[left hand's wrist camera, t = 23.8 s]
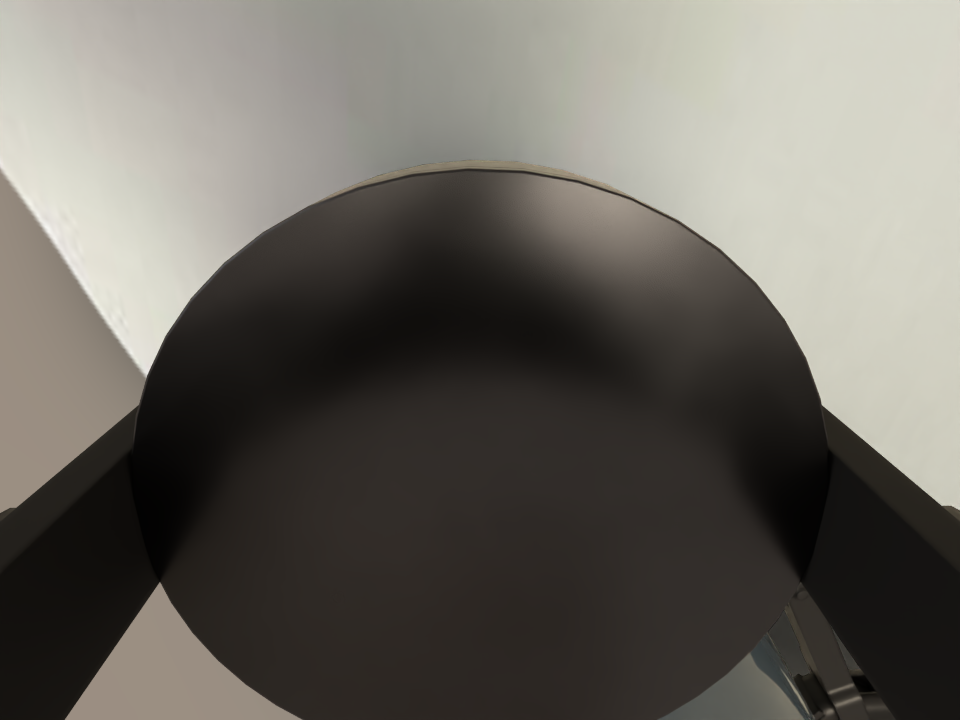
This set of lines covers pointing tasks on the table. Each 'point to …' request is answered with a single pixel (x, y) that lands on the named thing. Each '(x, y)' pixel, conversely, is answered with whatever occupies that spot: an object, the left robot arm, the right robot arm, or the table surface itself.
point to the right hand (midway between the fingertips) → (566, 604)
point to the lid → (480, 454)
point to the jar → (750, 692)
